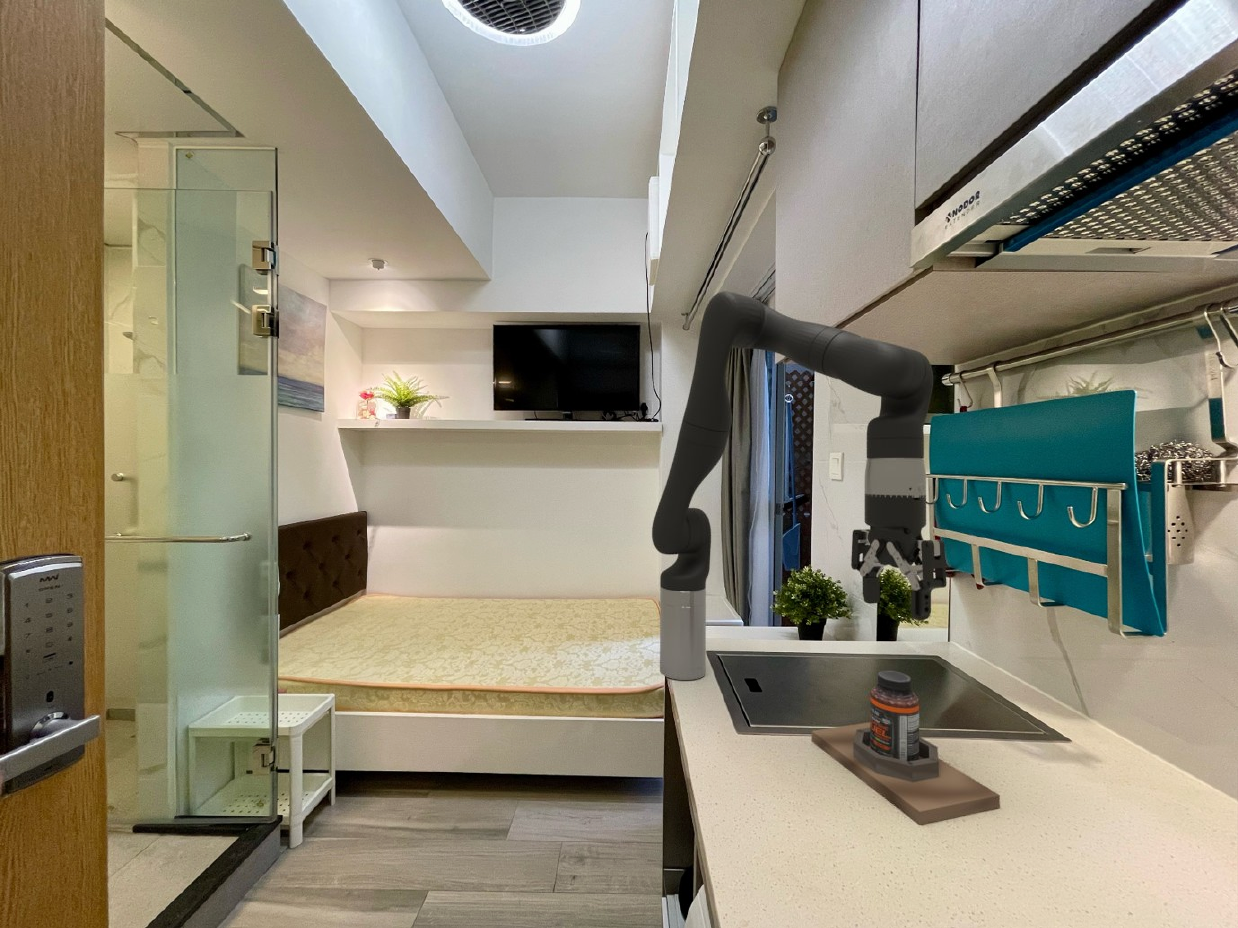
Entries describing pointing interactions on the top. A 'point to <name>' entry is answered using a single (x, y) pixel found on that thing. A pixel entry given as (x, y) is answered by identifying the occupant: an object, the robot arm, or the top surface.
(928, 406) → the robot arm
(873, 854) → the top surface
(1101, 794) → the top surface
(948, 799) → the socket board
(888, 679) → the supplement bottle
